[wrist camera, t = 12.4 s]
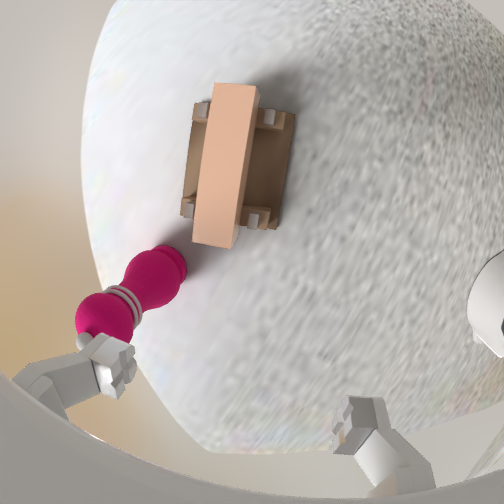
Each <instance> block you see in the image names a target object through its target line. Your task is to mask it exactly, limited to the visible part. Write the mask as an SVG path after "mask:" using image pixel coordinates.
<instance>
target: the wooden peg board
mask: <svg viewBox="0 0 504 504" xmlns="http://www.w3.org/2000/svg"><path fill="white" fill-rule="evenodd" d="M209 110H210V104H209V103H203V102H199V103H195V104H194V110H193V116H192V120H193V121H192V128H191V134H190V141H189V148H188V156H187V163H186V172H185V180H184V189H183V198H182V201H181V211H180V215H181V216H184V218H190V219H193V218H194V216H195V207H196V198H197V190H198V182H199V175H200V167H201V160H202V153H203V147H204V140H205V134H206V128H207V122H208V116H209ZM294 120H295V114H291V113H286V112H282V111H276V110H274V109H267V108H266V109H261V108H258V113H257V119H256V125H255V131H254V137H253V143H252V149H251V155H250V161H249V167H248V174H247V180H246V186H245V193H244V199H243V206H242V212H241V219H240V225H241V226H247V228H249V229H255V230H257V228H258V229H264V230H267V228H269V229H274V230H276V228H277V222H278V217H279V211H280V205H281V199H282V193H283V188H284V182H285V176H286V170H287V164H288V157H289V151H290V145H291V139H292V133H293V126H294Z"/></svg>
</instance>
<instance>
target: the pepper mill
mask: <svg viewBox="0 0 504 504" xmlns="http://www.w3.org/2000/svg"><path fill="white" fill-rule="evenodd" d="M186 272H187V268H186V263H185V260H184V259H183V257H182V255H181V254H180V253H179V252H178V251H177V250H175V249H174V248H172V247H169V246H157V247H155V248H153V249H152V250H147V251H143V252H141V253H139V254H138V255H137V256H135V257H134V258H133V259H132V260H131V262H130V263H129V265H128V266H127V268H126V271H125V275H124V279H123V281H122V282H121V283H120V284H119V285H113V286H110V287H108V288H107V289H106V290H104V291H103V292H102V293H95V294H92V295H90V296H88V297H86V299H84V300H83V301H82V303H81V304H80V305H79V307H78V309H77V312H76V316H75V325H76V330H77V332H78V336H77V338H76V345H77V347H78V348H79V350H82V349H83V348H84V347H85V346H86V345H87V344H88V343H90V342H91V341H92V340H93V339H94V338H95V337H96V336H97V335H98V334H100V333H104V334H106V335H109V336H111V337H114V338H116V339H118V340H121V341H123V342H126V343H128V344H129V343H130V341H131V339H132V336H133V330H134V329H135V328H136V327H137V326H138V325H139V324H140V322H141V320H142V313H144V312H145V311H147V310H150V309H155V308H159V307H162V306H164V305H166V304H167V303H169V302H170V301H171V300H172V299H173V298H174V297H175V296H176V295H177V293H178V291H179V288H180V284H181V283H182V282H183V281H184V279H185V277H186Z"/></svg>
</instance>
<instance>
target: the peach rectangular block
mask: <svg viewBox="0 0 504 504" xmlns="http://www.w3.org/2000/svg"><path fill="white" fill-rule="evenodd" d="M259 101H260V94H259V91H258V89H257V87H256V86H251V85H241V84H229V83H214V88H213V93H212V99H211V104H210V110H209V116H208V122H207V128H206V134H205V140H204V147H203V153H202V160H201V167H200V175H199V182H198V190H197V198H196V207H195V216H194V225H193V235H192V242H195V243H200V244H206V245H211V246H216V247H221V248H226V249H231V248H232V246H233V245H234V243H235V242H236V240H237V238H238V232H239V225H240V219H241V212H242V206H243V199H244V193H245V186H246V180H247V174H248V167H249V161H250V155H251V149H252V143H253V137H254V131H255V125H256V119H257V113H258V107H259Z"/></svg>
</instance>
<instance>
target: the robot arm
mask: <svg viewBox="0 0 504 504" xmlns="http://www.w3.org/2000/svg"><path fill="white" fill-rule="evenodd" d="M467 316H468V321H469V323H470V325H471V327H472V329H473V341H474V342H475V343H477V344H480V343H485V344H486V345H487V346H488V347H489V348H490V349H491V350H492V351H493V352H494V353H495V354H496V355H497V356H498V357H501V358H502V357H504V251H503V252H502V253H500V254H499V255H497V256H495V257H494V258H493V259H491V260H490V261H489V262H488V263H487V264H486V265H485V267H484V268H483V269H482V270H481V272H480V273H479V275H478V277H477V278H476V280H475V282H474V285H473V287H472V289H471V292H470V295H469V299H468V305H467ZM134 354H135V348H134V346H133V345H131V344H128V343H126V342H123V341H121V340H118V339H116V338H114V337H111V336H109V335H106V334H104V333H100V334H98V335H97V336H96V337H95V338H94V339H93V340H92V341H91V342H90V343H88V344H87V345H86V346H85V347H84V348H83V349H82V350H81V351H80V352H79V353H76V352H74V353H71V354H67V355H62V356H59V357H55V358H50V359H46V360H42V361H38V362H34V363H30V364H28V365H27V366H26V367H25V368H24V369H23V370H21V371H20V372H19V373H18V374H17V375H16V376H15V377H14V378H13V379H12V380H11V379H10V378H9V377H7V376H6V375H5V374H4V373H3V372H2V371H0V504H504V469H503V470H497V471H494V472H491V473H488V474H485V475H483V476H480V477H477V478H473V479H470V480H467V481H463V482H460V483H456V484H452V485H448V486H445V487H440V488H436V485H435V481H434V476H433V472H432V468H431V464H430V463H429V462H428V461H427V460H426V459H425V458H424V457H423V456H422V455H421V454H420V453H419V452H418V451H417V450H416V449H415V448H414V447H413V446H412V445H411V444H410V443H408V441H406V440H405V439H404V438H403V437H402V436H401V435H400V434H399V433H398V432H397V431H396V430H395V429H391V425H390V421H389V417H388V413H387V409H386V405H385V401H384V399H383V398H379V397H363V396H350V395H346V396H345V397H344V398H343V400H342V407H340V408H338V409H337V411H336V413H335V415H334V418H333V422H332V431H333V433H334V434H335V435H336V436H335V437H334V439H333V454H344V455H354V458H355V459H356V460H357V462H358V464H359V465H360V466H361V468H362V469H363V471H364V472H365V474H366V475H367V477H368V478H369V480H370V481H371V482H372V484H373V485H374V487H375V488H374V489H373V490H371V491H370V492H369V493H368V494H366V495H365V496H364V498H348V499H329V498H306V497H293V496H284V495H276V494H268V493H261V492H255V491H250V490H244V489H239V488H234V487H230V486H225V485H221V484H217V483H213V482H209V481H205V480H202V479H198V478H195V477H192V476H188V475H185V474H182V473H179V472H176V471H173V470H170V469H167V468H164V467H162V466H159V465H156V464H154V463H151V462H149V461H146V460H144V459H141V458H139V457H136V456H134V455H132V454H130V453H127V452H125V451H123V450H121V449H119V448H117V447H115V446H112V445H110V444H109V443H107V442H104V441H102V440H101V439H99V438H97V437H95V436H93V435H91V434H89V433H88V432H86V431H84V430H82V429H81V428H79V427H77V426H76V425H74V424H72V423H70V422H69V421H70V420H69V417H68V415H67V413H66V411H65V409H66V408H69V407H71V406H73V405H75V404H78V403H80V402H82V401H84V400H86V399H89V398H91V397H93V396H95V395H97V394H99V393H100V392H101V393H103V394H105V395H107V396H110V397H112V398H114V399H117V400H118V399H119V397H120V396H121V395H122V393H123V392H124V390H125V384H127V383H130V382H131V381H132V379H133V378H134V376H135V373H136V367H137V364H136V360H135V359H134V358H133V355H134Z"/></svg>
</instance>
